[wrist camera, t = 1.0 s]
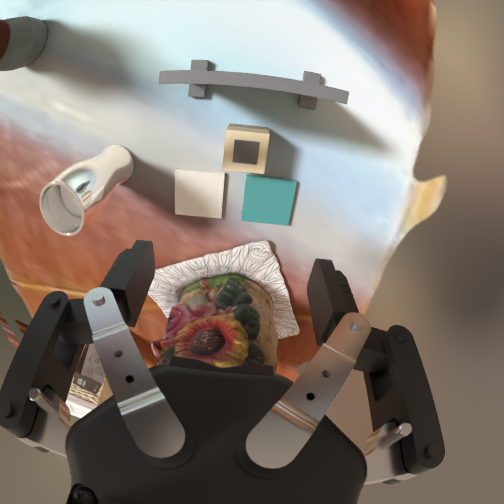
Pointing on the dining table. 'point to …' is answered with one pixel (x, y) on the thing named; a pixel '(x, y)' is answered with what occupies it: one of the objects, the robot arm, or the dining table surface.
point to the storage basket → (86, 398)
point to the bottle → (21, 41)
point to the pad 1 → (199, 193)
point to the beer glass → (84, 189)
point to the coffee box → (89, 370)
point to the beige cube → (246, 148)
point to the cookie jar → (224, 308)
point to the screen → (253, 83)
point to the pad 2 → (268, 200)
